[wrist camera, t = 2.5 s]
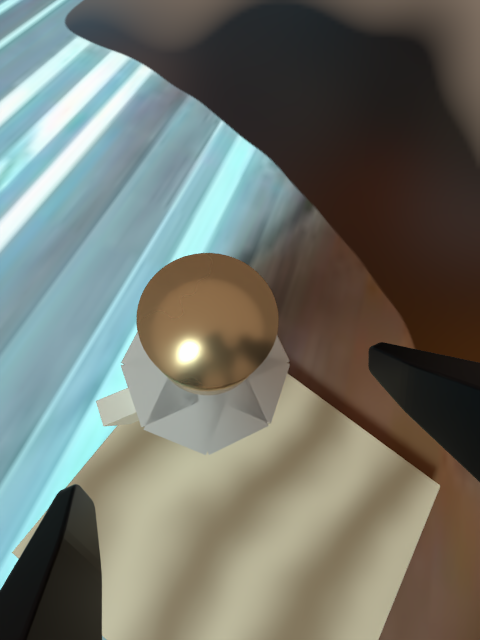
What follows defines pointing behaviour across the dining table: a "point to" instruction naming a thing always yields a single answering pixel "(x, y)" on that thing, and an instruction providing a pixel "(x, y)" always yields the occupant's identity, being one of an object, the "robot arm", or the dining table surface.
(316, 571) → the birch board
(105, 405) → the white faceted container
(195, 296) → the plunger
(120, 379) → the dining table surface
